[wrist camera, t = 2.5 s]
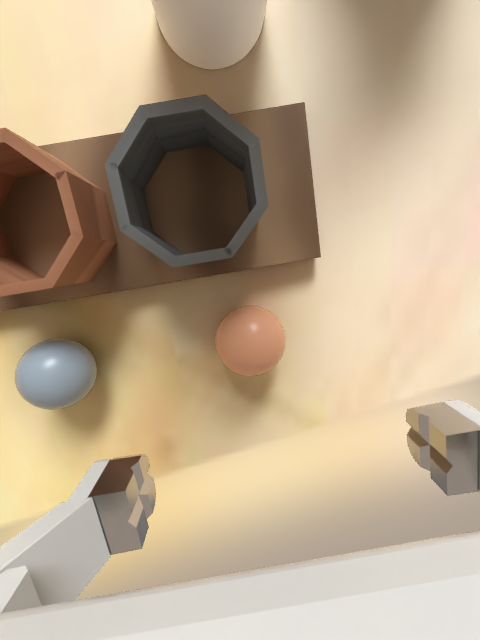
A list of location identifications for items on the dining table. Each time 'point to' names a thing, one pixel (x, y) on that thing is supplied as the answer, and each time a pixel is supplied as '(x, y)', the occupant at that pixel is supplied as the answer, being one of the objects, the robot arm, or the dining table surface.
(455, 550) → the robot arm
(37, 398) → the slate ball
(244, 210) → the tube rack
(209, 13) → the cylindrical container
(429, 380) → the dining table surface
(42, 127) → the dining table surface
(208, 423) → the dining table surface
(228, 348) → the terracotta ball
